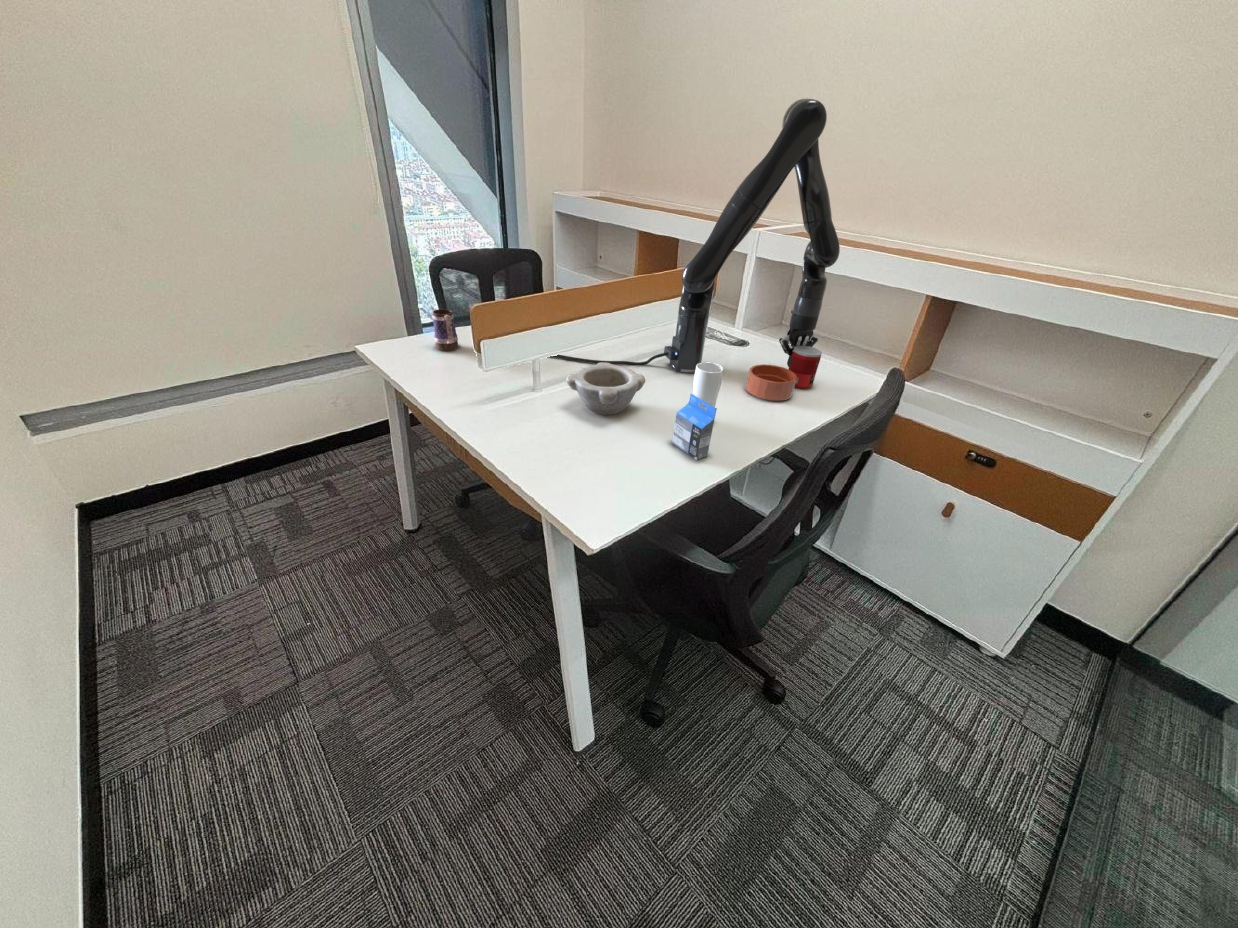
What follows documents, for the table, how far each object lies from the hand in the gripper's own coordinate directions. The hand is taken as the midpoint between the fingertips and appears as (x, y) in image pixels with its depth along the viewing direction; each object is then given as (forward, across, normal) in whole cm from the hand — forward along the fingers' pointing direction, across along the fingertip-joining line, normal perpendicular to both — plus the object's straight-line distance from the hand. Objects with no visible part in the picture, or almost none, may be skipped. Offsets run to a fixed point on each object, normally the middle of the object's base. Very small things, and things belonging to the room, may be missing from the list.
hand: (791, 367), depth 155 cm
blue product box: (+4, +50, +32) cm, 60 cm away
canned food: (+4, 0, +5) cm, 6 cm away
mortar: (+4, +63, +7) cm, 64 cm away
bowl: (+4, +13, +8) cm, 15 cm away
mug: (+4, +100, -44) cm, 109 cm away
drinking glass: (+4, +41, +20) cm, 46 cm away
